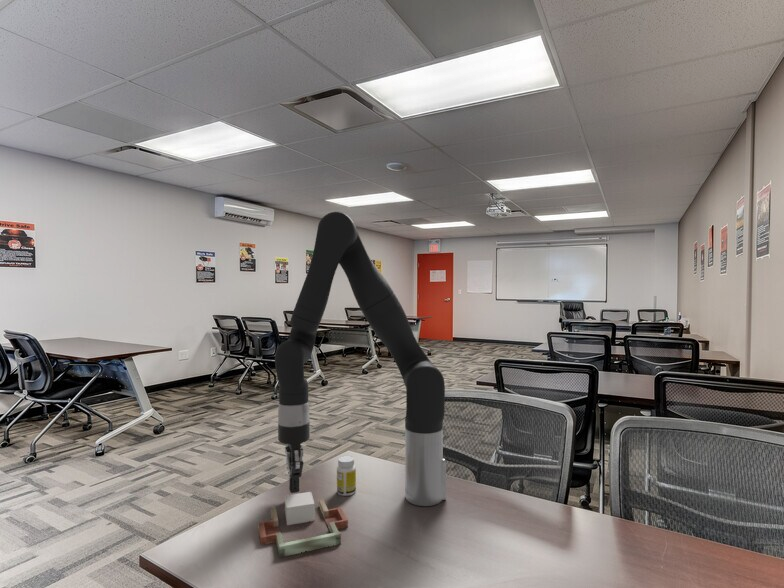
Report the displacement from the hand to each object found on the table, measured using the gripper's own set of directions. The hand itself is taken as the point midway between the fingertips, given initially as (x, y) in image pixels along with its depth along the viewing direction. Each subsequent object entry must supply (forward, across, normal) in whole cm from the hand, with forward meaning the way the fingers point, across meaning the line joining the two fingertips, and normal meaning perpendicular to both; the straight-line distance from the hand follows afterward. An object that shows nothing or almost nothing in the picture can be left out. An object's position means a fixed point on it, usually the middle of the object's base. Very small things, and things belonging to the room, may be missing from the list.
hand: (294, 491), depth 105 cm
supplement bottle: (+2, -1, -13) cm, 13 cm away
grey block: (+2, -8, 0) cm, 9 cm away
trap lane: (+2, -14, 0) cm, 14 cm away
